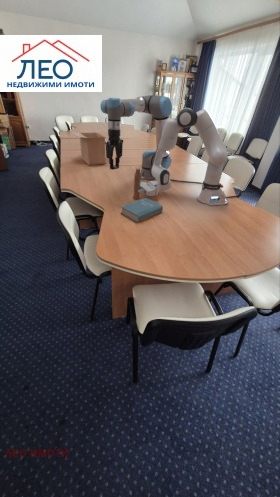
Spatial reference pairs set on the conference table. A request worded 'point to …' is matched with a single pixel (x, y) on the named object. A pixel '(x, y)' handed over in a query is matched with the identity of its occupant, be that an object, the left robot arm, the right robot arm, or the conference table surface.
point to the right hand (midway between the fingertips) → (135, 189)
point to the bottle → (137, 184)
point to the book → (141, 209)
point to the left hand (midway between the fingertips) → (114, 168)
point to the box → (92, 146)
